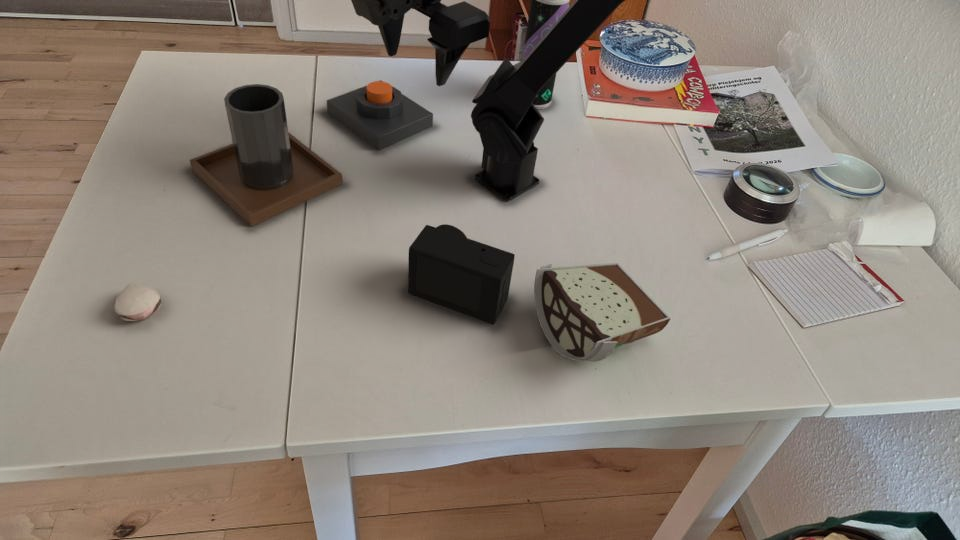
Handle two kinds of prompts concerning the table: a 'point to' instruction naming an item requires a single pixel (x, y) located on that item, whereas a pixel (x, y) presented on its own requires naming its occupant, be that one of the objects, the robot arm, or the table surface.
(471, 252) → the digital camera
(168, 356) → the table surface
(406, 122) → the push button switch
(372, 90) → the timer button
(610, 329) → the food container
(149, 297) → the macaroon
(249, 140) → the cup
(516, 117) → the robot arm
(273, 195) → the tray
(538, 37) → the spray can
